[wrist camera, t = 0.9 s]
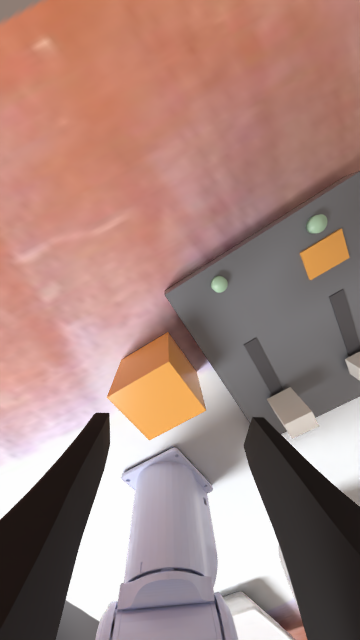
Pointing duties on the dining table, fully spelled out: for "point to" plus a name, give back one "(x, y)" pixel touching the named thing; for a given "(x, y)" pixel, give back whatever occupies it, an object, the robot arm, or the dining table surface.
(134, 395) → the cap
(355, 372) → the block
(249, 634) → the tray
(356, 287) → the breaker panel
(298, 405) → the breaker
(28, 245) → the dining table surface
